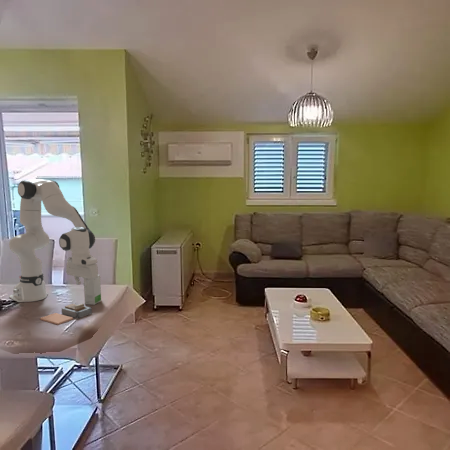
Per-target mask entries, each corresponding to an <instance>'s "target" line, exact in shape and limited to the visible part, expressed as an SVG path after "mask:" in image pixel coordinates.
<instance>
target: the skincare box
mask: <svg viewBox="0 0 450 450" xmlns="http://www.w3.org/2000/svg"><path fill="white" fill-rule="evenodd" d="M83 283H85V278H83ZM101 285H102V284H101V274H98V277H97V278H96V279H90V280H89V282H88V286H84V285H83V292H84V305H90V306H91V305H96V304H99V303H100V302H102V289H101V288H102V286H101Z"/></svg>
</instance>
